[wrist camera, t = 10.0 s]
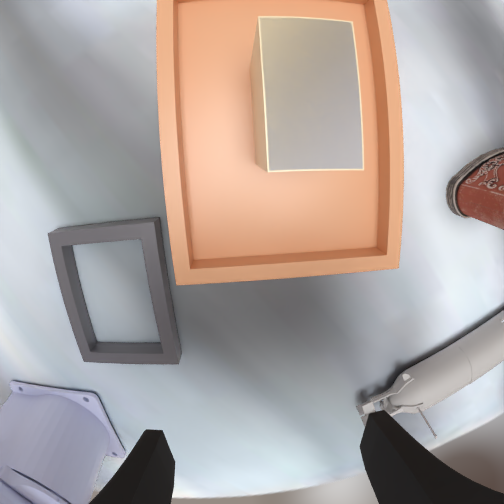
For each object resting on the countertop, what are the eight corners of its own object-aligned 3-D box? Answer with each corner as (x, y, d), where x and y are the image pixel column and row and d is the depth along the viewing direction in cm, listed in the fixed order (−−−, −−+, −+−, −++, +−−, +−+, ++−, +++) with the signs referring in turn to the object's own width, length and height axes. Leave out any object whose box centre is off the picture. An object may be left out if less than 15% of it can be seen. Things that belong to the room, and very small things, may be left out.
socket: (90, 351, 19) (83, 361, 18) (57, 228, 16) (47, 233, 15) (181, 352, 19) (178, 364, 18) (159, 217, 17) (154, 222, 15)
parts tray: (182, 271, 17) (176, 285, 16) (165, -1, 13) (157, -17, 11) (383, 256, 18) (398, 268, 16) (370, 0, 13) (383, -14, 11)
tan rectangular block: (255, 164, 15) (267, 172, 9) (249, 67, 14) (258, 16, 8) (315, 162, 15) (364, 170, 9) (309, 67, 14) (352, 21, 8)
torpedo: (525, 276, 19) (575, 307, 13) (523, 318, 21) (566, 352, 15) (346, 381, 21) (375, 448, 15) (359, 417, 22) (384, 478, 16)
